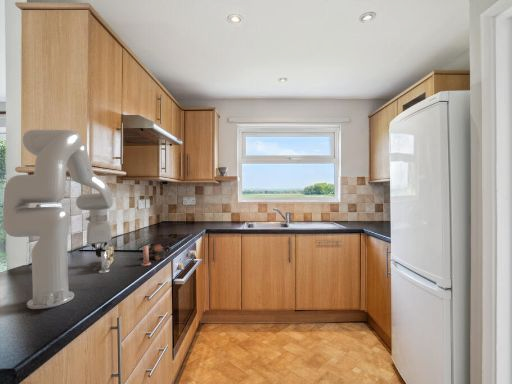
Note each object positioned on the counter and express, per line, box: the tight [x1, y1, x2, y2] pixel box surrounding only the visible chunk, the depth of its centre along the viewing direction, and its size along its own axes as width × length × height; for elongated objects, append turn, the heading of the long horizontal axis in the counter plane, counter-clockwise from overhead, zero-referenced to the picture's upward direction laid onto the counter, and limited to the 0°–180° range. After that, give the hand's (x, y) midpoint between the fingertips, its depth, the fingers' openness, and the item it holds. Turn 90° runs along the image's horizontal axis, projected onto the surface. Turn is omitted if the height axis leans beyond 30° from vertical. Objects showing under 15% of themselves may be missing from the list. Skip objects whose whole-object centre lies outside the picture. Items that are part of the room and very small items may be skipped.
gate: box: [105, 245, 115, 269], centre depth 133 cm, size 18×2×8 cm, turn 18°
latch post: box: [141, 245, 152, 267], centre depth 134 cm, size 4×4×9 cm
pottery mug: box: [148, 244, 172, 261], centre depth 147 cm, size 12×10×8 cm
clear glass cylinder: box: [98, 250, 111, 274], centre depth 123 cm, size 4×4×9 cm
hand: (99, 256), depth 133 cm, fingers closed
